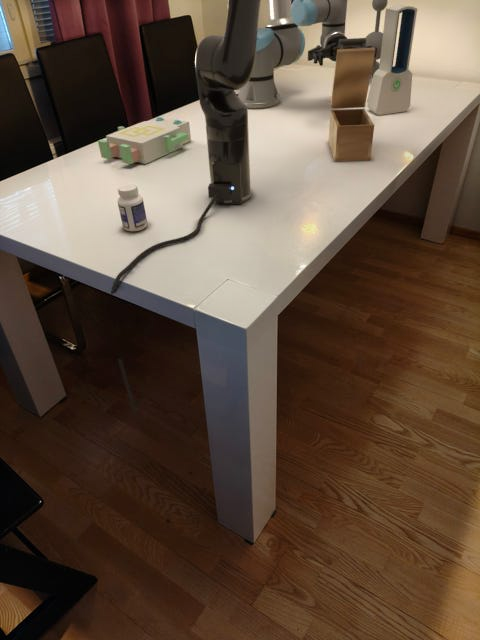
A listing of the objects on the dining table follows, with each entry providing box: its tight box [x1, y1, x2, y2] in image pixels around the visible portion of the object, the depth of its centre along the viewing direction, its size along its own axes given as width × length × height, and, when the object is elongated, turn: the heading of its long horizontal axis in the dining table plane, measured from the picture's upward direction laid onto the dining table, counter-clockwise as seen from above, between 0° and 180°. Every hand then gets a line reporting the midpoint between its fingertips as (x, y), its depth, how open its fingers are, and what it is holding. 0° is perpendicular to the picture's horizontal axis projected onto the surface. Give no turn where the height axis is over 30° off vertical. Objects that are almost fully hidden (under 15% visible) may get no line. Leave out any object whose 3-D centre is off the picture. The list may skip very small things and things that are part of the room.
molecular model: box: [364, 0, 388, 77], centre depth 186 cm, size 24×22×30 cm
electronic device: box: [366, 4, 418, 116], centre depth 155 cm, size 12×8×30 cm, turn 105°
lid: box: [330, 37, 375, 110], centre depth 131 cm, size 16×9×8 cm
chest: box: [328, 108, 375, 162], centre depth 133 cm, size 16×9×9 cm, turn 178°
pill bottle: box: [117, 182, 148, 232], centre depth 102 cm, size 5×5×9 cm
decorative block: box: [97, 116, 192, 165], centre depth 142 cm, size 26×6×20 cm
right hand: (345, 59), depth 138 cm, fingers open, 13 cm apart
